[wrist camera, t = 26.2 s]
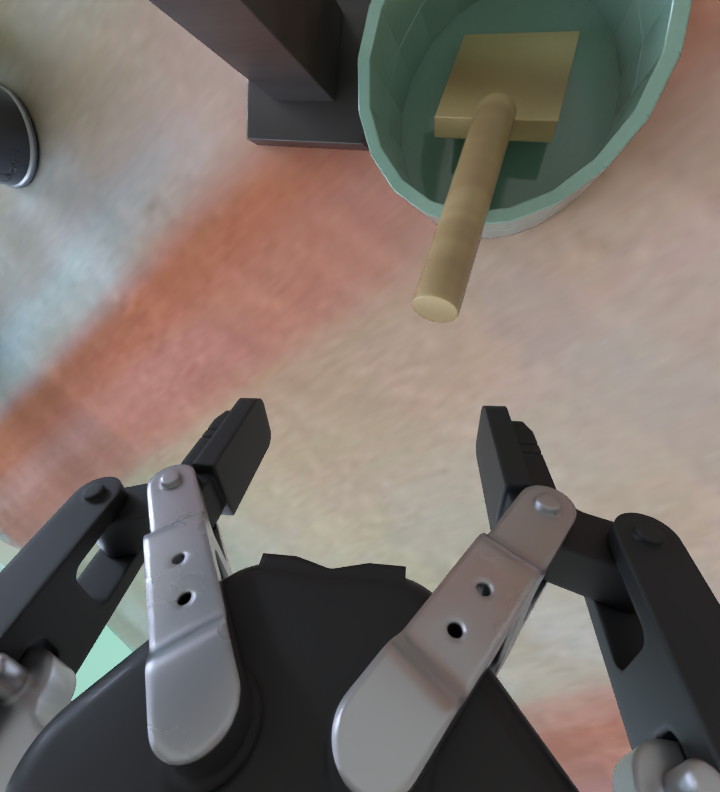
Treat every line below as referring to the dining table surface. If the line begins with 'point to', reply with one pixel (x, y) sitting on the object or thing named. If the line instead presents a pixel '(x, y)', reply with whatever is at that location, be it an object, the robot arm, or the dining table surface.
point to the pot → (524, 161)
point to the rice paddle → (488, 143)
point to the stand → (288, 64)
